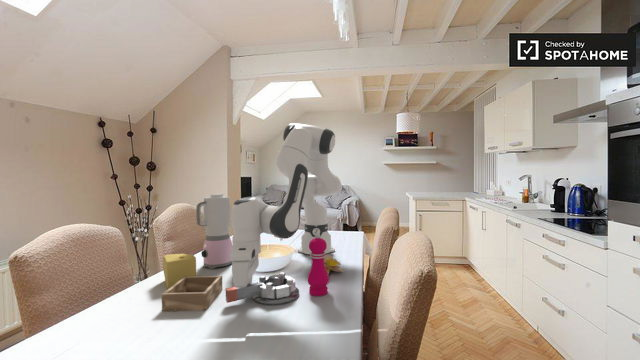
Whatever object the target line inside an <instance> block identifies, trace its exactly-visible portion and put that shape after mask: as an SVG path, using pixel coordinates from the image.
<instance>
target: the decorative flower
mask: <svg viewBox="0 0 640 360" xmlns="http://www.w3.org/2000/svg"><path fill="white" fill-rule="evenodd" d="M341 265H342V263H340V261H338V260H337V259H336V258H333V256H332V255H330V254H325V257H324V266H325V269H326V271H327V273H328V275H329V274H330V272H331V271H332V272H336V273H337V272H338V273H342V272H343V273H344V272H345V269H344V268H341Z"/></svg>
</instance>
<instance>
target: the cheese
mask: <svg viewBox="0 0 640 360" xmlns="http://www.w3.org/2000/svg"><path fill="white" fill-rule="evenodd" d="M162 268H163V275H164V282H165V286H166V289H167V290H168V289H169V288H171V287H172V286H173V285H174V284H176V283H177V282H178V281H180V280H181V279H182V278H183V277H193V276H197V258H196V256H195V255H194V254H193V253H189V254H186V253H174V254H172V253H171V254H165V255H163V257H162Z"/></svg>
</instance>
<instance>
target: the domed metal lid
mask: <svg viewBox="0 0 640 360" xmlns="http://www.w3.org/2000/svg"><path fill="white" fill-rule="evenodd" d="M268 277H269V278H268V279H269V283H273V287H277V286H281V285H284V276H283V275H279V274H272V275H269V276H268ZM299 296H300V289H299V288H298V287H296V290H295V291H294V292H293V293H292V294H291V295H289V296H287V297H282V298H278V299H276V298H275V299H271V298H262V297H260V296H255V297H252V298H253V301H254V302H255V303H257V304H259V305H262V306H283V305H286V304H290V303H292V302H294V301H296V300H297V299H298V298H299Z"/></svg>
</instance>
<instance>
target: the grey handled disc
mask: <svg viewBox="0 0 640 360" xmlns="http://www.w3.org/2000/svg"><path fill="white" fill-rule="evenodd" d="M278 275H283V276H284V285H281V286H277V287H273V283H269V279H268V278H269V276H265V275H261V276H259V277H258V281H257V282H255V283H251V284H250V285H247V286H246V287H241V288H236V287H235V286H233V287H227V288H225V301H226V303H227V304H228V303H233V302H237V301H241V300H246V299H249V298H253V297H255V296H260V297H262V298H271V299H275V298H276V299H278V298H282V297H287V296H289V295H291V294H292V293H293V292H294V291H295V290H296V285H297V284H296V279H295V278H293V277H291V276H289V275H286V272H283V271H280V272H279V274H278Z"/></svg>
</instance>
